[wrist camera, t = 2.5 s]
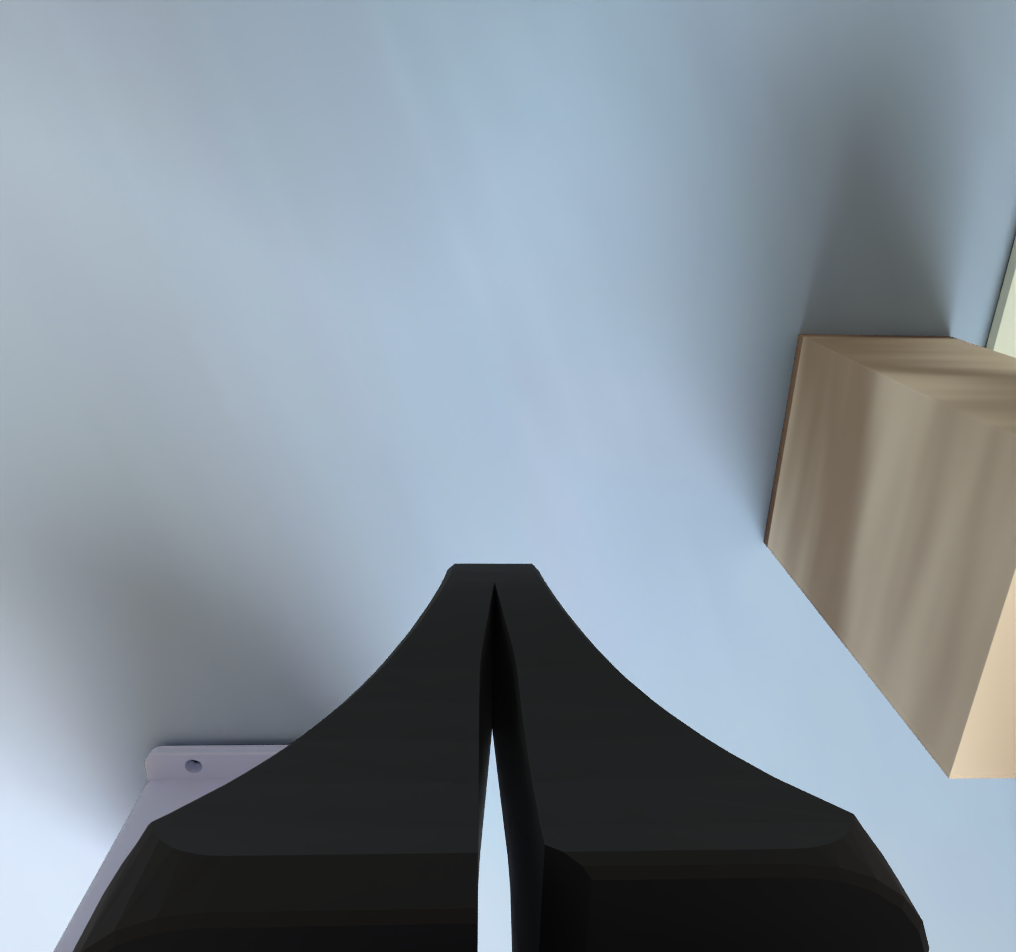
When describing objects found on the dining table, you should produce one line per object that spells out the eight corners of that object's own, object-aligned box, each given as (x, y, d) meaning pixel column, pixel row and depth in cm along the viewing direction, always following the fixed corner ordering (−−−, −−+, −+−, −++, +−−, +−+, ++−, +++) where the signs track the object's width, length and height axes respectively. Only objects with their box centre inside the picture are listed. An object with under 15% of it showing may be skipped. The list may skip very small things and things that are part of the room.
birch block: (763, 542, 21) (948, 778, 13) (798, 334, 19) (1051, 455, 10) (898, 542, 21) (1170, 776, 13) (950, 336, 19) (1318, 457, 11)
